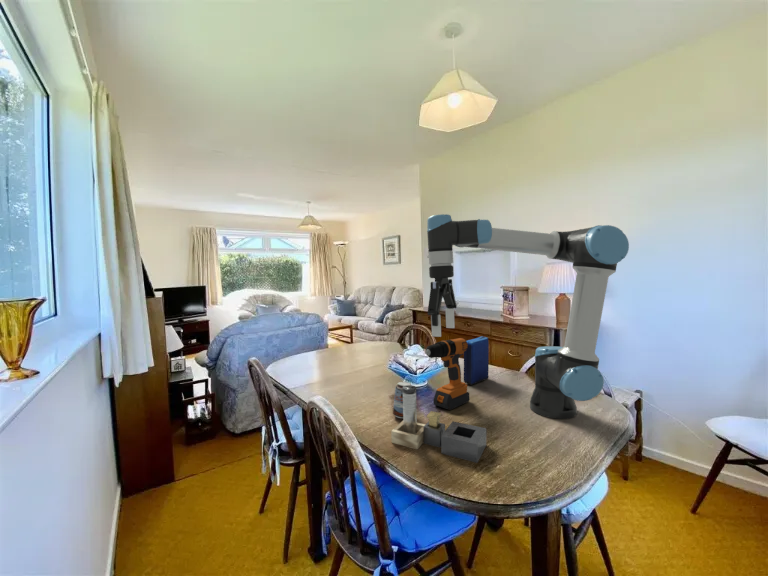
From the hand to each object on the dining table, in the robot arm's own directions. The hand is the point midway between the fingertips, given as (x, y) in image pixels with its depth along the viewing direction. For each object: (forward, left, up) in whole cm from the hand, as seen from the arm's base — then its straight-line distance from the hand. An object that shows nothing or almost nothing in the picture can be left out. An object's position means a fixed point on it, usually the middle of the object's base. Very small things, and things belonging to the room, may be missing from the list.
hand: (443, 332), depth 109 cm
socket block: (-6, +10, -32) cm, 34 cm away
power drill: (+6, -19, -32) cm, 38 cm away
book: (+3, -50, -32) cm, 59 cm away
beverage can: (+17, -3, -32) cm, 36 cm away
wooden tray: (+7, +12, -32) cm, 35 cm away
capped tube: (+7, +12, -31) cm, 34 cm away
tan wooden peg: (0, +10, -30) cm, 32 cm away
